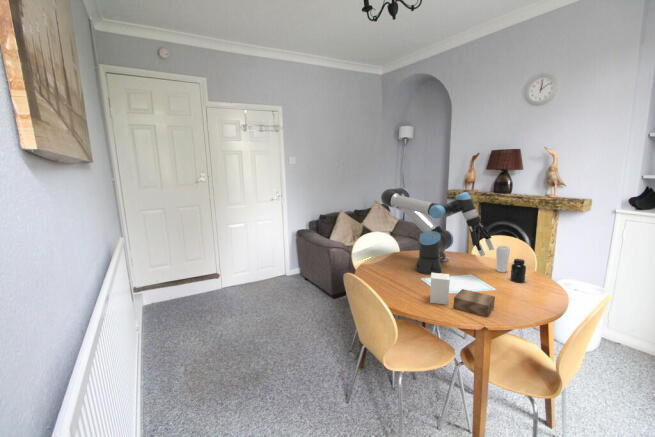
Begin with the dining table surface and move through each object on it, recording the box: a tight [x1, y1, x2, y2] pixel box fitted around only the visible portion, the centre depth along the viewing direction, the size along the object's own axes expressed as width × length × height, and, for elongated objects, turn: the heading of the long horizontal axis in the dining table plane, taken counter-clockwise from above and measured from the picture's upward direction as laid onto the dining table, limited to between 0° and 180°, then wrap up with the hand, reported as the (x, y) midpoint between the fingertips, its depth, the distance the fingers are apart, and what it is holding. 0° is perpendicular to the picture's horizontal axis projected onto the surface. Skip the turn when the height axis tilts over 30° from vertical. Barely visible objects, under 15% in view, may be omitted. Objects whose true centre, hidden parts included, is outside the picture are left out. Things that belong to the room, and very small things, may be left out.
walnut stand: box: [453, 288, 496, 318], centre depth 138 cm, size 14×12×5 cm
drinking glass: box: [495, 245, 511, 273], centre depth 183 cm, size 7×7×15 cm
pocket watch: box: [439, 250, 450, 263], centre depth 205 cm, size 8×8×10 cm
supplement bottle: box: [510, 258, 527, 283], centre depth 168 cm, size 7×7×12 cm
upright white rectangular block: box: [429, 272, 451, 306], centre depth 145 cm, size 8×8×12 cm
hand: (487, 252), depth 175 cm, fingers open, 13 cm apart
